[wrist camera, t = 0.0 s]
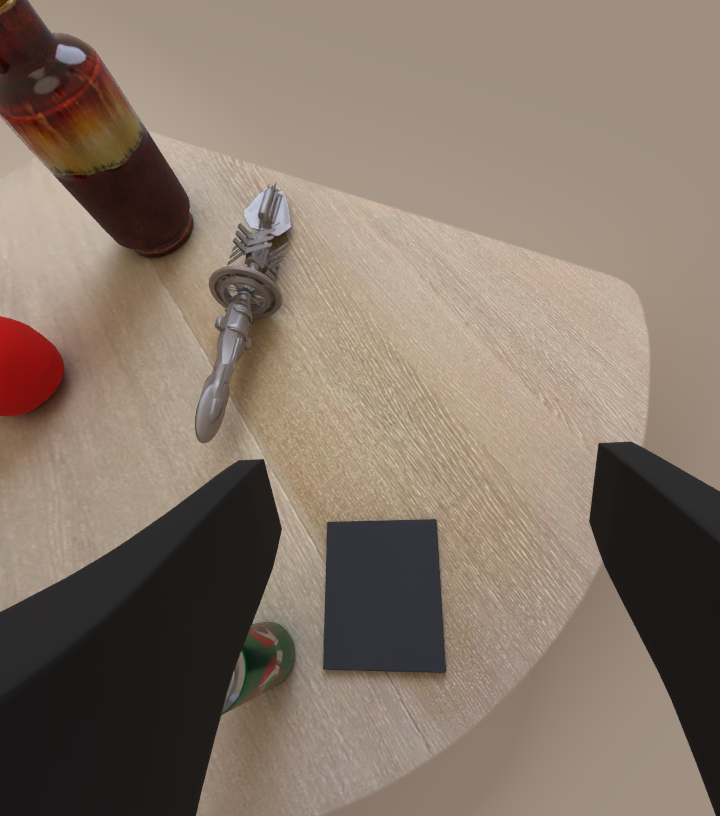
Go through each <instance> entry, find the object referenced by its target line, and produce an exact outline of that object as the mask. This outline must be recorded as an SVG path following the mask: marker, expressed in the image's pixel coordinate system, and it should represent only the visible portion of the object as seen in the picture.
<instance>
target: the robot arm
mask: <svg viewBox="0 0 720 816" xmlns="http://www.w3.org/2000/svg"><path fill="white" fill-rule="evenodd" d="M589 522H590V525H591V528H592V531H593V534H594V537H595V540H596V543H597V546H598V549H599V552H600V554H601V557H602V560H603V563H604V565H605V567H606V570H607V571H608V573H609V576H610V578H611V579H612V582H613V584H614V586H615V588H616V590H617V592H618V594H619V596H620V598H621V600H622V602H623V604H624V606H625V607H626V609H627V611H628V613H629V615H630V617H631V619H632V621H633V623H634V625H635V627H636V629H637V631H638V633H639V635H640V637H641V639H642V641H643V643H644V645H645V646H646V649H647V651H648V652H649V654H650V656H651V658H652V660H653V662H654V664H655V666H656V668H657V670H658V672H659V674H660V676H661V679H662V681H663V683H664V685H665V687H666V689H667V691H668V693H669V696H670V698H671V700H672V703H673V705H674V708H675V710H676V713H677V715H678V718H679V720H680V723H681V725H682V728H683V731H684V733H685V736H686V738H687V741H688V743H689V746H690V748H691V751H692V753H693V756H694V758H695V761H696V763H697V766H698V769H699V771H700V774H701V777H702V779H703V782H704V785H705V788H706V790H707V793H708V796H709V798H710V801H711V804H712V806H713V809H714V812H715V814H716V816H720V491H718V490H716V489H714V488H713V487H711V486H709V485H707V484H706V483H704V482H702V481H700V480H698V479H697V478H695V477H693V476H692V475H690V474H688V473H686V472H685V471H683V470H681V469H680V468H678V467H676V466H674V465H673V464H671V463H669V462H667V461H666V460H664V459H662V458H661V457H659V456H657V455H655V454H653V453H652V452H650V451H648V450H646V449H644V448H643V447H641V446H639V445H637V444H635V443H632V442H614V443H599V445H598V453H597V461H596V470H595V478H594V486H593V495H592V503H591V511H590V520H589ZM281 530H282V528H281V524H280V520H279V516H278V512H277V508H276V505H275V501H274V497H273V493H272V489H271V485H270V481H269V477H268V474H267V470H266V466H265V462H264V459H260V460H239V461H237V462H236V463H234V464H232V465H231V466H229V467H228V468H227V469H225V470H224V471H222V472H221V473H220V474H218V475H217V476H215V477H214V478H213V479H212V480H210V481H209V482H208V483H206V484H205V485H204V486H202V487H201V488H200V489H198V490H197V491H196V492H194V493H193V494H192V495H190V496H189V497H188V498H186V499H185V500H184V501H182V502H181V503H180V504H178V505H177V506H176V507H174V508H173V509H172V510H170V511H169V512H168V513H166V514H165V515H163V516H162V517H160V518H159V519H158V520H156V521H155V522H153V523H152V524H150V525H149V526H148V527H146V528H145V529H143V530H142V531H140V532H139V533H137V534H136V535H135V536H133V537H132V538H130V539H129V540H127V541H126V542H124V543H123V544H121V545H120V546H118V547H117V548H115V549H114V550H112V551H110V552H109V553H107V554H106V555H104V556H102V557H101V558H99V559H98V560H96V561H94V562H92V563H91V564H89V565H87V566H86V567H84V568H82V569H81V570H79V571H77V572H76V573H74V574H72V575H70V576H69V577H67V578H65V579H63V580H61V581H59V582H58V583H56V584H54V585H52V586H50V587H48V588H46V589H44V590H42V591H40V592H38V593H36V594H34V595H33V596H31V597H29V598H27V599H25V600H23V601H21V602H19V603H17V604H15V605H13V606H11V607H9V608H8V609H6V610H3V611H1V612H0V816H196V813H197V809H198V804H199V800H200V795H201V791H202V787H203V783H204V779H205V775H206V771H207V767H208V763H209V759H210V755H211V751H212V747H213V743H214V739H215V735H216V732H217V728H218V725H219V721H220V717H221V714H222V710H223V706H224V703H225V699H226V696H227V692H228V688H229V685H230V682H231V679H232V676H233V673H234V670H235V667H236V664H237V661H238V659H239V656H240V653H241V651H242V648H243V646H244V643H245V640H246V638H247V635H248V633H249V630H250V627H251V625H252V622H253V620H254V617H255V614H256V612H257V609H258V607H259V604H260V601H261V599H262V596H263V593H264V591H265V588H266V585H267V583H268V580H269V577H270V574H271V572H272V569H273V565H274V561H275V557H276V553H277V549H278V544H279V539H280V535H281Z"/></svg>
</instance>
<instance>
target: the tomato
mask: <svg viewBox="0 0 720 816" xmlns="http://www.w3.org/2000/svg"><path fill="white" fill-rule="evenodd" d="M63 374H64V365H63V360H62V357H61V355H60V354H59V352H58V350H57V349H56V347H55V346H54V345H53V344H52V343H51V342H50V341H48V340H47V339H46V338H45V337H44V336H42V335H41V334H40V333H38V332H37V331H35V330H34V329H33V328H31V327H30V326H28V325H26V324H24V323H21V322H19V321H16V320H13V319H9V318H5V317H1V316H0V416H15V415H20V414H24V413H27V412H30V411H32V410H34V409H36V408H37V407H38V406H40V405H41V404H43V403H44V402H45V401H46V400H47V399H48V398H49V397H50V396H51V395H52V394H53V393H54V392H55V391H56V390H57V388H58V386H59V385H60V382H61V380H62V378H63Z"/></svg>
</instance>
